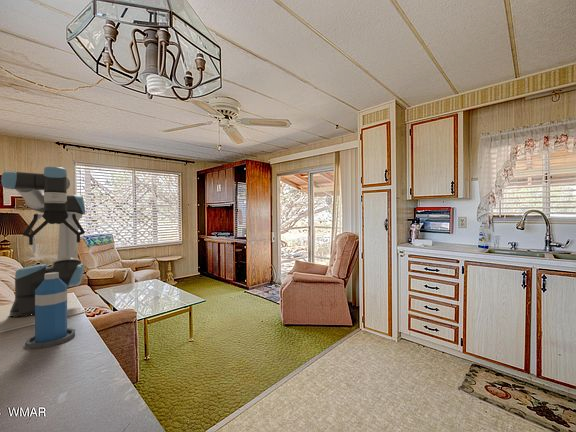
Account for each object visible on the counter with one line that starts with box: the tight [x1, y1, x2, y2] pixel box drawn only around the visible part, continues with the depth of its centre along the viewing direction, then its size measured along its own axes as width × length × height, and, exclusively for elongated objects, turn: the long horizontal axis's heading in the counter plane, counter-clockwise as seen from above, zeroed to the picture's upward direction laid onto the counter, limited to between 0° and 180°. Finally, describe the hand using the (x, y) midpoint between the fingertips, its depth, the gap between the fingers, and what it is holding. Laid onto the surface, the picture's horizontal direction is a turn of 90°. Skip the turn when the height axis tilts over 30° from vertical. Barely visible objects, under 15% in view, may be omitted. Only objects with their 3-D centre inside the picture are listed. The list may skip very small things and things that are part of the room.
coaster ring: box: [24, 327, 76, 350], centre depth 101 cm, size 14×14×2 cm
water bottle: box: [34, 272, 68, 343], centre depth 101 cm, size 9×9×25 cm
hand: (55, 251), depth 116 cm, fingers open, 13 cm apart
